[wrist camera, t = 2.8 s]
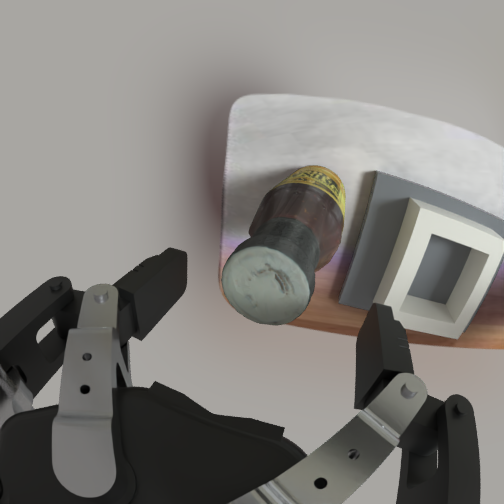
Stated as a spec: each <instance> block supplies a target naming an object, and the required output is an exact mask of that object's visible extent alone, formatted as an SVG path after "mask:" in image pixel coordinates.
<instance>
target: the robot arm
mask: <svg viewBox="0 0 504 504" xmlns="http://www.w3.org/2000/svg"><path fill="white" fill-rule="evenodd" d="M186 285H187V253H186V252H184V251H181V250H178V249H174V248H168V249H166V250H165V251H164V252H162V253H161V254H160V255H155V256H153V257H150V258H147V259H146V260H144V261H143V262H142V263H141V264H139V266H136V267H135V268H134V269H133V271H132V270H131V271H130V272H128V273H127V274H126V275H125V276H123V277H122V278H121V279H119V280H118V281H117V282H116V283H114V284H113V285H109V284H98V285H95V286H92V287H90V288H89V289H88V290H87V291H86V292H84V291H78V290H73V288H72V284H71V281H70V280H69V279H68V278H67V277H63V276H59V277H54V278H51V279H49V280H48V281H46V282H45V283H43V284H42V285H41V286H40V287H38V288H37V289H36V290H34V291H33V292H32V293H30V294H29V295H28V296H27V297H25V298H24V299H23V300H22V301H21V302H19V303H18V304H17V305H16V306H14V307H13V308H12V309H11V310H10V311H8V312H7V313H6V314H5V315H4V316H3V317H1V318H0V504H342V503H343V502H344V501H345V500H346V499H347V498H349V497H350V496H351V495H352V494H353V493H354V492H355V491H356V490H357V489H358V488H359V487H360V486H361V485H362V484H363V483H364V482H365V481H366V480H367V479H368V478H369V477H370V476H371V475H372V474H373V473H374V472H375V470H376V469H377V468H378V467H379V466H380V465H381V464H382V463H383V462H384V460H385V459H386V458H387V457H388V456H389V454H390V453H391V452H392V451H393V450H394V448H395V447H396V446H397V447H399V448H402V458H401V469H400V479H399V487H398V494H397V501H396V504H480V459H479V447H478V438H477V430H476V423H475V417H474V411H473V407H472V405H471V403H470V402H469V401H468V400H467V399H466V398H465V397H463V396H461V395H458V394H455V395H451V396H450V397H449V398H448V399H447V400H446V401H445V402H443V401H441V400H439V399H436V398H434V397H431V396H429V395H428V394H427V389H426V386H425V384H424V382H423V381H422V380H421V379H420V378H419V377H417V376H416V375H414V370H413V364H412V359H411V354H410V349H409V344H408V341H407V340H408V339H407V335H406V330H405V329H404V327H403V326H402V324H401V323H400V321H397V320H394V316H393V311H392V307H391V306H387V305H383V304H379V303H373V304H372V306H371V308H370V310H369V312H368V314H367V317H366V319H365V321H364V323H363V325H362V327H361V329H360V331H359V334H358V337H357V342H356V382H355V403H354V409H360V410H362V411H360V412H359V413H358V414H357V415H356V416H355V417H354V418H353V419H352V420H351V421H350V422H348V424H346V425H345V426H344V427H343V428H342V429H340V431H338V432H337V433H336V434H335V435H333V436H332V437H331V438H330V439H329V440H327V442H325V443H324V444H322V445H321V446H320V447H319V448H317V449H316V450H315V451H313V452H312V453H311V454H310V455H308V456H307V454H306V453H305V452H304V451H303V450H302V449H301V448H300V447H298V446H297V445H296V444H295V443H293V442H292V441H290V440H289V439H287V438H285V437H283V432H284V429H285V428H284V427H280V426H277V425H273V424H269V423H265V422H262V421H258V420H255V419H252V418H241V417H232V416H224V415H217V414H213V413H211V412H209V411H208V410H206V409H204V408H203V407H201V406H200V405H199V404H197V403H196V402H194V401H193V400H191V399H190V398H189V397H187V396H186V395H185V394H183V393H180V392H178V391H176V390H174V389H171V388H169V387H167V386H165V385H163V384H160V383H158V382H156V381H155V382H154V383H153V385H152V386H151V387H150V388H144V387H133V386H132V381H131V370H130V351H129V341H128V340H129V339H130V338H131V337H132V336H133V337H135V338H137V339H139V340H141V341H142V340H143V339H144V338H145V337H146V335H147V334H148V333H149V332H150V331H151V330H152V329H153V328H154V326H155V325H156V324H157V323H158V322H159V321H160V320H161V319H162V317H163V316H164V315H165V314H166V313H167V312H168V311H169V309H170V308H171V307H172V306H173V305H174V304H175V303H176V302H177V301H178V300H179V298H180V297H181V296H182V295H183V294H184V292H185V289H186ZM51 318H52V320H53V323H54V325H55V328H54V329H53V330H52V331H51V332H50V333H49V334H48V335H47V336H46V337H45V338H43V340H41V341H40V342H39V343H37V341H36V335H37V332H38V330H39V329H40V328H41V327H42V326H43V325H45V324H46V323H47V322H48V321H49V320H50V319H51ZM62 365H63V369H62V377H61V386H60V397H59V404H58V405H53V406H49V407H44V408H39V409H34V408H33V407H32V404H33V399H34V397H35V396H36V395H37V394H38V393H39V391H40V390H41V389H42V388H43V387H44V386H45V384H46V383H47V382H48V381H49V380H50V379H51V377H52V376H53V375H54V374H55V373H56V372H57V371H58V369H59V368H60V367H61V366H62ZM437 450H438V468H437Z"/></svg>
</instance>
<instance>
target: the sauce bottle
mask: <svg viewBox="0 0 504 504" xmlns="http://www.w3.org/2000/svg"><path fill="white" fill-rule="evenodd" d="M344 213H345V189H344V186H343V184H342V182H341V180H340V178H339V177H338V176H337V175H336V174H335V173H334V172H332V171H331V170H329V169H327V168H325V167H322V166H315V165H313V166H306V167H303V168H301V169H299V170H297V171H296V172H294V173H293V174H292V175H290V176H289V177H288V178H286V179H285V180H284V181H282V182H281V183H279V184H278V185H277V186H275V187H274V188H273V189H272V190H270V191H269V192H268V193H267V194H266V195H265V197H264V198H263V200H262V202H261V204H260V207H259V209H258V211H257V213H256V215H255V217H254V219H253V222H252V224H251V226H250V229H249V234H250V236H251V238H249V239H247V240H246V241H244V242H242V243H241V244H240V245H239V246H238V247H237V248H236V249H235V251H234V252H233V253H232V254H231V255H230V257H229V258H228V260H227V262H226V264H225V265H224V268H223V271H222V279H221V281H222V287H223V290H224V294H225V296H226V297H227V299H228V300H229V302H230V304H231V305H232V306H233V307H234V308H235V309H236V311H237V312H239V313H240V314H242V315H243V316H244V317H246V318H248V319H250V320H252V321H254V322H256V323H260V324H269V325H282V324H286V323H289V322H291V321H293V320H294V319H296V318H297V317H299V316H300V315H301V314H302V313H303V311H304V310H305V309H306V307H307V306H308V304H309V302H310V298H311V296H312V294H313V292H314V287H315V272H316V271H319V270H320V269H321V268H322V267H324V266H325V265H326V264H328V263H329V262H330V260H331V259H332V257H333V255H334V254H335V252H336V251H337V249H338V247H339V244H340V242H341V237H342V236H341V235H342V232H343V227H344Z"/></svg>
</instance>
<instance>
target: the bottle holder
mask: <svg viewBox="0 0 504 504" xmlns="http://www.w3.org/2000/svg"><path fill="white" fill-rule="evenodd" d="M503 259H504V220H502V219H500V218H498V217H496V216H494V215H492V214H490V213H488V212H486V211H484V210H482V209H479V208H477V207H475V206H473V205H470V204H468V203H466V202H464V201H461V200H459V199H456V198H454V197H451V196H449V195H446V194H444V193H441V192H439V191H436V190H433V189H431V188H428V187H425V186H423V185H420V184H417V183H414V182H411V181H408V180H405V179H402V178H399V177H396V176H393V175H390V174H386V173H383V172H380V171H376V174H375V178H374V183H373V187H372V191H371V195H370V199H369V202H368V206H367V210H366V213H365V217H364V221H363V224H362V228H361V231H360V234H359V238H358V241H357V244H356V248H355V251H354V254H353V257H352V260H351V263H350V266H349V269H348V272H347V275H346V278H345V281H344V284H343V286H342V289H341V292H340V295H339V303H340V304H344V305H348V306H352V307H356V308H360V309H364V310H368V311H369V310H370V308H371V306H372V304H373V303H379V304H383V305H387V306H391V307H392V311H393V316H394V320H397V321H400V323H401V324H402V326H403V327H404V328H406V329H410V330H415V331H419V332H424V333H429V334H434V335H439V336H443V337H448V338H454V339H458V338H459V337H460V335H461V334H462V332H465V331H466V330H467V328H468V326H469V325H470V323H471V322H472V320H473V318H474V316H475V315H476V313H477V311H478V310H479V308H480V306H481V304H482V302H483V301H484V299H485V297H486V295H487V293H488V291H489V289H490V287H491V285H492V283H493V281H494V279H495V277H496V275H497V273H498V270H499V268H500V266H501V264H502V261H503Z"/></svg>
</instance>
